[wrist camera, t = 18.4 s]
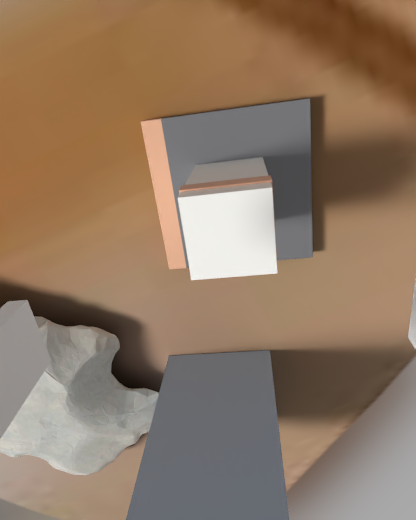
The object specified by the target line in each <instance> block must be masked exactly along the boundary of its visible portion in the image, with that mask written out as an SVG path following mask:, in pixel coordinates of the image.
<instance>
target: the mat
mask: <svg viewBox="0 0 416 520" xmlns="http://www.w3.org/2000/svg"><path fill="white" fill-rule="evenodd" d="M141 126H142V131H143V136H144V141H145V146H146V152H147V157H148V162H149V167H150V172H151V177H152V182H153V188H154V193H155V198H156V203H157V208H158V213H159V218H160V224H161V229H162V234H163V239H164V244H165V249H166V254H167V260H168V265H169V269H180V268H189V263H188V257H187V251H186V245H185V239H184V233H183V227H182V222H181V216H180V210H179V204H178V196H179V189H180V187H181V186H182V185H185V183H186V181H187V180H188V178H189V176H190V174H191V172H192V171H193V169H194V167H195V165H200V164H208V163H216V162H225V161H233V160H242V159H250V158H259V157H263V160H264V163H265V166H266V170H267V173H268V175H271V178H272V186H273V203H274V220H275V237H276V253H277V260H286V259H298V258H310V257H313V245H312V182H311V119H310V98H305V99H298V100H290V101H283V102H276V103H268V104H261V105H254V106H246V107H239V108H232V109H225V110H217V111H210V112H203V113H195V114H188V115H181V116H173V117H166V118H159V119H151V120H144V121H141Z"/></svg>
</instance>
